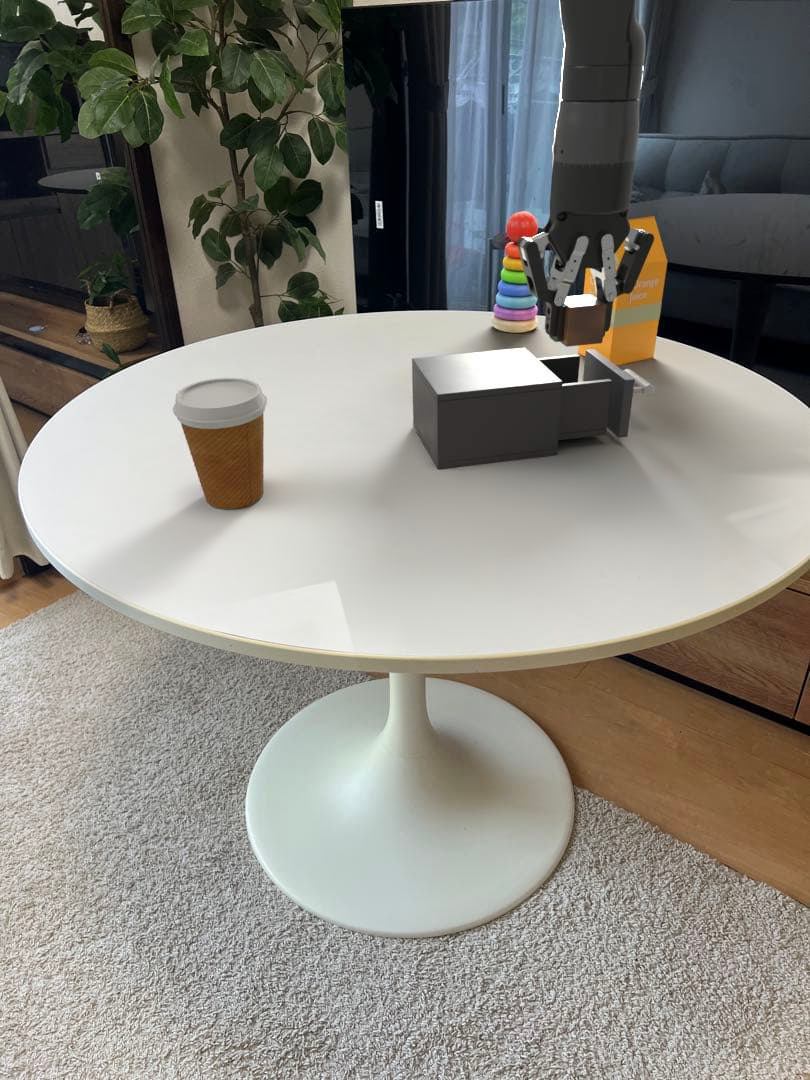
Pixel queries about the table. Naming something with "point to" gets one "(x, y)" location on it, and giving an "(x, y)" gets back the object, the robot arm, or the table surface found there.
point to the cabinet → (485, 407)
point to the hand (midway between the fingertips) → (576, 336)
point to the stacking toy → (516, 281)
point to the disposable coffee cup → (225, 438)
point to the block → (583, 320)
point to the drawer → (594, 395)
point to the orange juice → (634, 305)
